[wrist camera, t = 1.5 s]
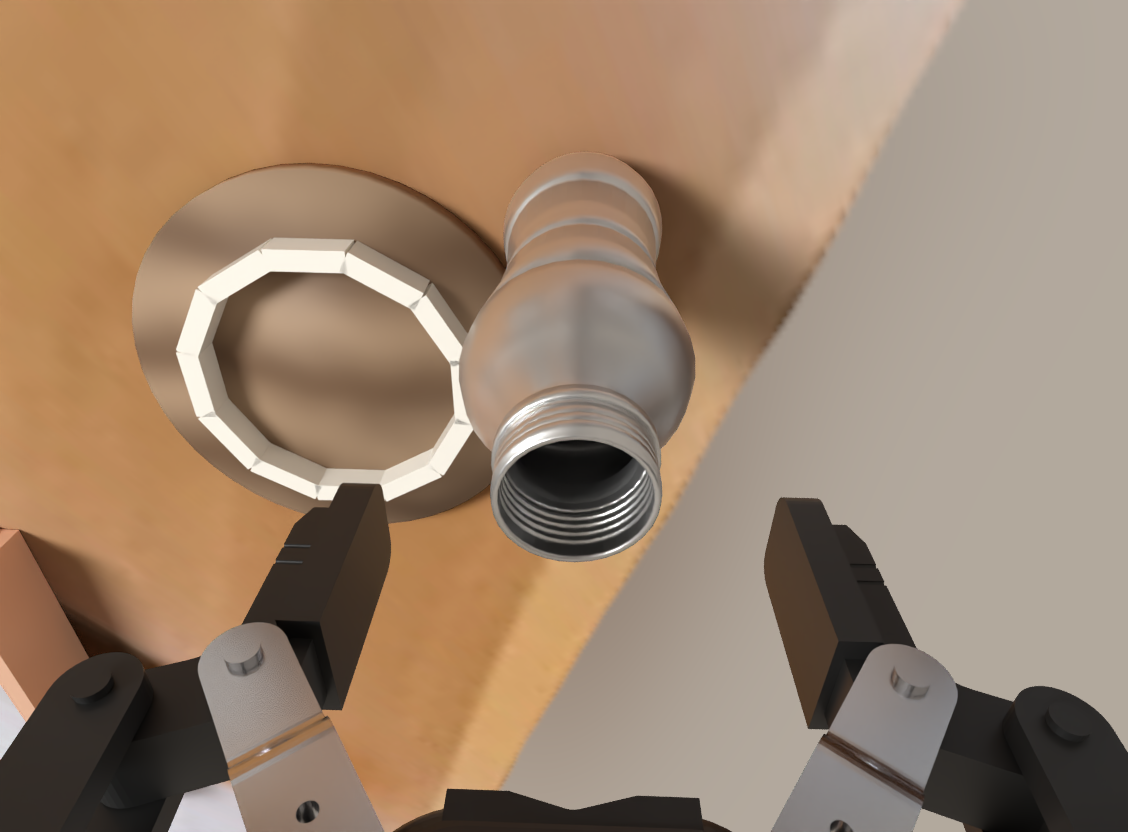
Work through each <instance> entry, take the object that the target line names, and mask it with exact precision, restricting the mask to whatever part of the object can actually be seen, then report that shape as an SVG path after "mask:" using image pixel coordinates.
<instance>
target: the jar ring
mask: <svg viewBox="0 0 1128 832" xmlns="http://www.w3.org/2000/svg"><path fill="white" fill-rule="evenodd" d="M270 271H276V272H313V273H344V274H345V275H347V276H349V277H351V278H353V279H355V280H357V281H359V282H361V283H362V284H364V285H366V286H368V287H370V288H372V289H374V290H376V291H378V292H379V293H381V294H383V295H385V296H387V297H389V298H391V299H393V300H395V301H396V302H398V303H400V304H402V305H404V306H406V307H408V308H410V309H411V310H412V312H413V313H414V315H415V316H416V317H417V319H418V320H419V321H420V323H421V324H422V326H423V327H424V328H425V330H426V331H427V333H428V334H429V335H430V337H431V338H432V339H433V341H434V342H435V344H436V345H437V346H438V348H439V349H440V350H441V352H442V353H443V355H444V356H445V357H446V359H447V360H448V362H449V363H450V365H451V377H452V389H453V401H454V415H453V417H452V418H451V420H450V422H449V423H448V425H447V426H446V428H445V430H444V431H443V433H442V434H441V436H440V438H439V439H438V441H437V443H436V444H435V446H434V447H433V448H432V449H430V450H428V451H426V452H423V453H421V454H419V455H417V456H415V457H413V458H410V459H408V460H406V461H404V462H402V463H400V464H397V465H395V466H393V467H391V468H389V469H387V470H363V469H331V468H325V467H323V466H321V465H318V464H316V463H314V462H312V461H310V460H307V459H305V458H303V457H301V456H298V455H296V454H294V453H292V452H289V451H287V450H285V449H283V448H281V447H278V446H276V445H274V444H272V443H270V442H269V441H268V440H267V439H266V438H265V437H264V435H263V434H262V433H261V432H260V431H259V430H258V429H257V428H256V427H255V426H254V425H253V424H252V423H251V422H250V421H249V420H248V419H247V417H246V416H245V415H244V414H243V413H242V412H241V411H240V410H239V409H238V408H237V407H236V406H235V405H234V404H233V403H232V402H231V400H230V399H229V398H228V395H227V392H226V389H225V385H224V382H223V378H222V375H221V371H220V368H219V364H218V361H217V357H216V354H215V350H214V347H213V344H212V342H213V339H214V336H215V333H216V331H217V328H218V325H219V322H220V319H221V317H222V314H223V311H224V308H225V305H226V303H227V300H228V297H229V296H230V295H232V294H233V293H235V292H237V291H238V290H240V289H242V288H243V287H245V286H247V285H248V284H250V283H252V282H253V281H255V280H257V279H258V278H260V277H262V276H263V275H265V274H267V273H268V272H270ZM429 281H430V280H428V279H426V278H425V277H423V276H421V275H419V274H417V273H416V272H414V271H412V270H410V269H408V268H406V267H405V266H403V265H401V264H399V263H397V262H395V261H394V260H392V259H390V258H388V257H386V256H384V255H383V254H381V253H379V252H377V251H375V250H373V249H372V248H370V247H368V246H366V245H364V244H362V243H361V242H359V241H356V243H355V244H354V240H345V239H307V238H273V239H269V240H268V241H266V242H264V243H263V244H261V245H260V246H258V247H256V248H255V249H253V250H251V251H250V252H248V253H247V254H245V255H243V256H242V257H240V258H238V259H237V260H235V261H234V262H232V263H230V264H229V265H227V266H226V267H224V268H222V269H221V270H219V271H217V272H216V273H214V274H213V275H211V276H210V277H209V278H208V279H207V280H205V281H204V282H203V283H202V284H201V285H199V286H198V288H197V289H196V290H195V293H194V296H193V299H192V302H191V305H190V308H189V311H188V314H187V317H186V321H185V324H184V327H183V330H182V333H181V336H180V339H179V342H178V345H177V348H176V350H177V352H176V355H177V358H178V361H179V364H180V367H181V370H182V373H183V376H184V379H185V383H186V386H187V389H188V392H189V395H190V398H191V401H192V404H193V407H194V410H195V414H196V417H199V418H198V419H199V420H200V421H201V422H202V423H203V424H204V425H205V426H206V428H207V429H208V430H209V431H210V432H211V433H212V434H213V435H214V436H215V437H216V438H217V439H218V440H219V441H220V442H221V443H222V444H223V445H224V446H225V447H226V448H227V449H228V450H229V451H230V452H231V453H232V454H233V455H234V456H235V457H236V458H237V459H238V460H239V461H240V462H241V463H242V464H243V465H244V466H245V467H246V468H247V469H250V468H251V472H254V473H256V474H258V475H261V476H263V477H265V478H267V479H270V480H272V481H274V482H277V483H279V484H281V485H284V486H286V487H288V488H290V489H293V490H295V491H297V492H300V493H302V494H304V495H307V496H309V497H311V498H313V499H316V497H317V498H318V500H333V498H334V496H335V494H336V492H337V490H338V488H339V486H340V485H341V484H342V483H370V484H380V485H381V487H382V490H383V495H384V501H385V500H386V501H389V500H391V499H394V498H396V497H398V496H400V495H403V494H405V493H407V492H409V491H411V490H414V489H416V488H418V487H420V486H423V485H425V484H427V483H429V482H432V481H434V480H436V479H438V478H441V477H442V475H444V474H445V473H446V471H447V469H448V468H449V466H450V465H451V463H452V462H453V460H454V459H455V457H456V456H457V454H458V452H459V451H460V449H461V448H462V446H463V445H464V443H465V442H466V440H467V438H468V437H469V435H470V434H471V432H472V431H473V428H472V425H471V423H470V421H469V419H468V417H467V415H466V410H465V406H464V402H463V398H462V393H461V389H460V384H459V359H460V355H461V351H462V347H463V343H464V340H465V338H466V336H467V334H468V333H467V332H466V331H465V329H464V328H463V326H462V325H461V323H460V322H459V320H458V319H457V317H456V316H455V315H454V313H453V312H452V310H451V309H450V307H449V306H448V304H447V303H446V302H445V300H444V299H443V297H442V296H441V294H440V293H439V291H438V290H437V289H436V287H435V286H434V284H433V283H431V284H429V285H428V283H429Z"/></svg>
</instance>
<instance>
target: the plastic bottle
mask: <svg viewBox="0 0 1128 832" xmlns="http://www.w3.org/2000/svg"><path fill="white" fill-rule="evenodd" d="M661 237H662V216H661V212H660V208H659V204H658V201H657V199H656V197H655V195H654V193H653V191H652V189H651V188H650V186H649V185H648V184H647V182H646V181H645V180H644V179H643V177H642V176H641V175H639V174H638V173H637V172H636V171H635V170H633V169H632V168H631V167H630V166H628V165H627V164H626V163H624V162H622V161H620V160H619V159H617V158H615V157H613V156H609V155H606V154H602V153H599V152H586V151H582V152H574V153H568V154H565V155H562V156H559V157H556V158H554V159H552V160H550V161H549V162H547V163H545V164H543V165H542V166H540V167H539V168H538V169H536V170H535V171H534V172H533V173H532V174H531V175H529V176H528V177H527V178H526V179H525V180H524V181H523V183H522V184H521V185H520V186H519V188H518V189H517V190H516V191H515V193H514V195H513V197H512V199H511V201H510V203H509V205H508V209H507V212H506V216H505V220H504V249H505V255H506V261H507V268H506V271H505V273H504V275H503V277H502V279H501V282H500V283H499V285H498V286H497V287H496V289H495V290H494V292H493V293H492V294H491V296H490V297H489V298H488V300H487V301H486V303H485V304H484V305H483V307H482V308H481V309H480V311H479V313H478V315H477V317H476V318H475V320H474V322H473V324H472V326H471V328H470V330H469V332H468V334H467V336H466V338H465V340H464V343H463V347H462V351H461V355H460V359H459V384H460V389H461V393H462V398H463V402H464V406H465V410H466V415H467V417H468V419H469V421H470V423H471V425H472V428H473V430H474V432H475V433H476V434H477V436H478V437H479V438H480V440H481V441H482V442H483V444H484V445H485V446H486V447H487V448H488V449H489V450H490V451H491V452H492V456H491V467H492V472H493V475H492V481H491V491H490V498H491V505H492V510H493V515H494V517H495V519H496V521H497V523H498V525H499V527H500V528H501V529H502V531H503V532H504V533H505V534H506V536H507V537H508V538H509V539H511V540H512V541H513V542H514V543H515V544H517V545H518V546H520V547H521V548H523V549H525V550H527V551H528V552H530V553H533V554H535V555H538V556H541V557H543V558H547V559H552V560H557V561H565V562H584V561H593V560H598V559H603V558H607V557H609V556H612V555H615V554H618V553H620V552H622V551H624V550H626V549H627V548H629V547H631V546H633V545H634V544H635V543H636V542H638V541H639V540H640V539H641V538H643V537H644V536H645V535H646V533H647V532H648V531H649V530H650V529H651V527H652V526H653V524H654V522H655V520H656V518H657V516H658V514H659V510H660V506H661V499H662V481H661V476H660V467H661V448H662V447H663V446H664V445H666V443H667V442H668V441H669V439H670V438H671V437H672V435H673V434H674V433H675V432H676V430H677V429H678V427H679V425H680V422H681V420H682V418H683V416H684V414H685V412H686V409H687V406H688V403H689V400H690V397H691V393H692V389H693V385H694V380H695V355H694V351H693V346H692V342H691V338H690V336H689V333H688V331H687V329H686V326H685V323H684V322H683V320H682V318H681V316H680V314H679V312H678V310H677V308H676V306H675V305H674V304H673V302H672V300H671V299H670V297H669V295H668V294H667V292H666V291H665V289H664V288H663V286H662V284H661V283H660V280H659V277H658V274H657V271H656V261H657V259H658V255H659V249H660V244H661Z"/></svg>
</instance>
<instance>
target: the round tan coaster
mask: <svg viewBox="0 0 1128 832" xmlns="http://www.w3.org/2000/svg"><path fill="white" fill-rule="evenodd" d="M273 238H307V239H345V240H354V244H355V243H356V241H359V242H361V243H362V244H364V245H366V246H368V247H370V248H372V249H373V250H375V251H377V252H379V253H381V254H383V255H384V256H386V257H388V258H390V259H392V260H394V261H395V262H397V263H399V264H401V265H403V266H405V267H406V268H408V269H410V270H412V271H414V272H416V273H417V274H419V275H421V276H423V277H425V278H426V279H428V280H430V281H429V283H428V285H429V284H431V283H433V284H434V286H435V287H436V289H437V290H438V291H439V293H440V294H441V296H442V297H443V299H444V300H445V302H446V303H447V304H448V306H449V307H450V309H451V310H452V312H453V313H454V315H455V316H456V317H457V319H458V320H459V322H460V323H461V325H462V326H463V328H464V329H465V331H466V332H467V333H468V332H469V330H470V328H471V326H472V324H473V322H474V320H475V318H476V317H477V315H478V313H479V311H480V309H481V308H482V307H483V305H484V304H485V303H486V301H487V300H488V298H489V297H490V296H491V294H492V293H493V292H494V290H495V289H496V287H497V286H498V285H499V283H500V282H501V279H502V277H503V275H504V273H505V271H506V269H505V268H504V267H503V265H502V264H501V262H500V261H499V260H498V258H497V257H496V255H495V254H494V253H493V252H492V251H491V250H490V248H489V247H488V246H487V245H486V244H485V243H484V242H483V241H482V240H481V239H480V238H479V237H478V235H477V234H476V233H475V232H474V231H472V230H471V229H470V228H469V227H468V226H466V225H465V224H464V223H463V222H462V221H461V220H459V219H458V218H457V217H456V216H455V215H454V214H452V213H451V212H449V211H448V210H446V209H445V208H443V207H442V206H440V205H439V204H437V203H436V202H434V201H433V200H431V199H430V198H428V197H427V196H425V195H423V194H421V193H419V192H417V191H415V190H413V189H411V188H409V187H407V186H405V185H403V184H401V183H399V182H396V181H393V180H390V179H387V178H385V177H382V176H379V175H376V174H374V173H371V172H367V171H362V170H358V169H353V168H349V167H344V166H339V165H328V164H317V163H298V164H280V165H275V166H269V167H264V168H259V169H254V170H251V171H248V172H245V173H243V174H240V175H237V176H234V177H231V178H228V179H227V180H225V181H223V182H221V183H219V184H218V185H216V186H214V187H212V188H210V189H208V190H207V191H205V192H203V193H202V194H200V195H198V196H197V197H195V198H193V199H192V200H191V201H190V202H188V203H187V204H186V205H185V206H183V207H182V208H181V209H180V210H178V211H177V212H176V213H175V214H173V215H172V217H171V218H170V219H169V220H168V221H167V222H166V223H165V225H164V226H163V227H162V228H161V229H160V230H159V231H158V233H157V234H156V236H155V237H154V239H153V241H152V243H151V244H150V246H149V248H148V249H147V251H146V253H145V255H144V257H143V260H142V263H141V266H140V268H139V271H138V274H137V277H136V282H135V288H134V293H133V299H132V325H133V333H134V340H135V346H136V350H137V353H138V357H139V360H140V364H141V367H142V370H143V373H144V375H145V377H146V379H147V382H148V384H149V386H150V389H151V391H152V393H153V394H154V396H155V398H156V400H157V401H158V403H159V405H160V406H161V408H162V410H163V412H164V413H165V414H166V416H167V417H168V418H169V420H170V421H171V422H172V424H173V425H174V426H175V428H176V429H177V430H178V432H179V433H180V434H181V435H182V436H183V437H184V438H185V439H186V440H187V442H188V443H189V444H190V445H191V446H192V447H193V448H194V449H195V450H196V451H197V452H198V453H199V454H200V455H202V456H203V457H204V458H205V459H206V460H207V461H208V462H209V463H210V464H212V465H213V466H214V467H215V468H217V469H218V470H219V471H221V472H222V473H224V474H225V475H226V476H228V477H229V478H230V479H232V480H233V481H235V482H236V483H238V484H240V485H241V486H243V487H245V488H246V489H248V490H250V491H251V492H253V493H255V494H257V495H259V496H261V497H263V498H265V499H267V500H270V501H272V502H274V503H276V504H278V505H281V506H284V507H286V508H289V509H292V510H294V511H297V512H300V513H304V514H307V513H308V512H309V511H310V510H311V509H312V508H314V507H329V506H330V504H331V502H332V500H318V498H317V497H316V499H313V498H311V497H309V496H307V495H304V494H302V493H300V492H297V491H295V490H293V489H290V488H288V487H286V486H284V485H281V484H279V483H277V482H274V481H272V480H270V479H267V478H265V477H263V476H261V475H258V474H256V473H254V472H251V468H250V469H247V468H246V467H245V466H244V465H243V464H242V463H241V462H240V461H239V460H238V459H237V458H236V457H235V456H234V455H233V454H232V453H231V452H230V451H229V450H228V449H227V448H226V447H225V446H224V445H223V444H222V443H221V442H220V441H219V440H218V439H217V438H216V437H215V436H214V435H213V434H212V433H211V432H210V431H209V430H208V429H207V428H206V426H205V425H204V424H203V423H202V422H201V421H200V420H199V419H198V418H199V417H196V414H195V410H194V407H193V404H192V401H191V398H190V395H189V392H188V389H187V386H186V383H185V379H184V376H183V373H182V370H181V367H180V364H179V361H178V358H177V355H176V352H177V350H176V348H177V345H178V342H179V339H180V336H181V333H182V330H183V327H184V324H185V321H186V317H187V314H188V311H189V308H190V305H191V302H192V299H193V296H194V293H195V290H196V289H197V288H198V286H199V285H201V284H202V283H203V282H204V281H205V280H207V279H208V278H209V277H210V276H211V275H213V274H214V273H216V272H217V271H219V270H221V269H222V268H224V267H226V266H227V265H229V264H230V263H232V262H234V261H235V260H237V259H238V258H240V257H242V256H243V255H245V254H247V253H248V252H250V251H251V250H253V249H255V248H256V247H258V246H260V245H261V244H263V243H264V242H266V241H268V240H269V239H273ZM212 344H213V347H214V350H215V354H216V357H217V361H218V364H219V368H220V371H221V375H222V378H223V382H224V385H225V389H226V392H227V395H228V398H229V399H230V400H231V402H232V403H233V404H234V405H235V406H236V407H237V408H238V409H239V410H240V411H241V412H242V413H243V414H244V415H245V416H246V417H247V419H248V420H249V421H250V422H251V423H252V424H253V425H254V426H255V427H256V428H257V429H258V430H259V431H260V432H261V433H262V434H263V435H264V437H265V438H266V439H267V440H268V441H269V442H270V443H272V444H274V445H276V446H278V447H281V448H283V449H285V450H287V451H289V452H292V453H294V454H296V455H298V456H301V457H303V458H305V459H307V460H310V461H312V462H314V463H316V464H318V465H321V466H323V467H325V468H331V469H363V470H387V469H389V468H391V467H393V466H395V465H397V464H400V463H402V462H404V461H406V460H408V459H410V458H413V457H415V456H417V455H419V454H421V453H423V452H426V451H428V450H430V449H432V448H433V447H434V446H435V444H436V443H437V441H438V439H439V438H440V436H441V434H442V433H443V431H444V430H445V428H446V426H447V425H448V423H449V422H450V420H451V418H452V417H453V415H454V401H453V389H452V377H451V365H450V363H449V362H448V360H447V359H446V357H445V356H444V355H443V353H442V352H441V350H440V349H439V348H438V346H437V345H436V344H435V342H434V341H433V339H432V338H431V337H430V335H429V334H428V333H427V331H426V330H425V328H424V327H423V326H422V324H421V323H420V321H419V320H418V319H417V317H416V316H415V315H414V313H413V312H412V310H411V309H410V308H408V307H406V306H404V305H402V304H400V303H398V302H396V301H395V300H393V299H391V298H389V297H387V296H385V295H383V294H381V293H379V292H378V291H376V290H374V289H372V288H370V287H368V286H366V285H364V284H362V283H361V282H359V281H357V280H355V279H353V278H351V277H349V276H347V275H345V274H344V273H313V272H276V271H270V272H268V273H267V274H265V275H263V276H262V277H260V278H258V279H257V280H255V281H253V282H252V283H250V284H248V285H247V286H245V287H243V288H242V289H240V290H238V291H237V292H235V293H233V294H232V295H230V296H229V297H228V300H227V303H226V305H225V308H224V311H223V314H222V317H221V319H220V322H219V325H218V328H217V331H216V333H215V336H214V339H213V342H212ZM491 456H492V452H491V451H490V450H489V449H488V448H487V447H486V446H485V445H484V444H483V442H482V441H481V440H480V438H479V437H478V436H477V434H476V433H475V432H474V430H473V431H472V432H471V434H470V435H469V437H468V438H467V440H466V442H465V443H464V445H463V446H462V448H461V449H460V451H459V452H458V454H457V456H456V457H455V459H454V460H453V462H452V463H451V465H450V466H449V468H448V469H447V471H446V473H445V474H444V475H442V477H441V478H438V479H436V480H434V481H432V482H429V483H427V484H425V485H423V486H420V487H418V488H416V489H414V490H411V491H409V492H407V493H405V494H403V495H400V496H398V497H396V498H394V499H391V500H389V501H386V500H385V508H386V514H387V521H388V524H389V523H397V522H405V521H412V520H416V519H420V518H425V517H429V516H432V515H435V514H438V513H441V512H443V511H446V510H449V509H451V508H453V507H455V506H457V505H459V504H461V503H463V502H465V501H467V500H469V499H470V498H472V497H473V496H475V495H476V494H478V493H479V492H481V491H482V490H484V489H485V488H486V487H487V486H488V485H490V484H491V481H492V475H493V472H492V467H491Z"/></svg>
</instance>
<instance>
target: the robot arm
mask: <svg viewBox="0 0 1128 832" xmlns="http://www.w3.org/2000/svg"><path fill="white" fill-rule="evenodd" d="M390 556H391V540H390V533H389V527H388V521H387V514H386V508H385V501H384V495H383V490H382V487H381V485H380V484H370V483H342V484H341V485H340V486H339V488H338V490H337V492H336V494H335V496H334V498H333V500H332V502H331V504H330V506H329V507H314V508H312V509H311V510H310V511H309V512H308V513H307V514H306V515H304V516H303V517H302V518H301V519H300V520H299V521H298V522H296V523H295V524H294V526H293V528H292V530H291V532H290V534H289V536H288V538H287V539H286V541H285V543H284V548H282V549H281V551H280V553H279V555H278V557H277V558H276V563H275V564H273V566H272V568H271V570H270V572H269V574H268V576H267V577H266V579H265V581H264V583H263V585H262V587H261V589H260V591H259V593H258V595H257V596H256V598H255V600H254V602H253V604H252V606H251V608H250V610H249V612H248V614H247V615H246V617H245V619H244V621H243V623H242V625H240V626H237V627H234V628H232V629H230V630H228V631H226V632H224V633H223V634H221V635H220V636H218V637H217V638H216V639H215V640H213V641H212V642H211V643H210V644H209V645H208V646H207V648H206V649H205V651H204V652H203V654H202V656H199V657H197V658H194V659H190V660H186V661H182V662H178V663H173V664H169V665H165V666H160V667H156V668H152V669H147V670H144V667H143V665H142V664H141V662H140V661H139V659H137V658H136V657H135V656H133V655H131V654H127V653H122V652H112V653H105V654H100V655H97V656H94V657H91V658H89V659H86V660H84V661H82V662H80V663H78V664H76V665H75V666H73V667H72V668H70V669H69V670H67V671H66V672H65V673H63V674H62V675H61V676H60V677H59V678H58V679H57V680H56V681H55V682H54V683H53V684H52V685H51V687H50V688H49V689H48V691H47V692H46V694H45V695H44V697H43V698H42V700H41V701H40V703H39V704H38V706H37V707H36V708H35V710H34V711H33V713H32V714H31V716H30V717H29V719H28V720H27V722H26V723H25V725H24V726H23V728H22V729H21V731H20V732H19V734H18V735H17V737H16V738H15V740H14V741H13V742H12V744H11V745H10V747H9V748H8V750H7V751H6V753H5V754H4V756H3V757H2V759H1V760H0V832H168V830H169V828H170V826H171V823H172V821H173V819H174V816H175V814H176V812H177V809H178V807H179V804H180V802H181V800H182V797H183V795H184V793H185V792H189V791H192V790H196V789H200V788H203V787H207V786H210V785H214V784H218V783H221V782H225V781H228V780H230V781H231V784H232V787H233V791H234V794H235V797H236V800H237V803H238V806H239V809H240V812H241V815H242V819H243V822H244V825H245V828H246V831H247V832H384V830H383V827H382V825H381V823H380V821H379V819H378V817H377V815H376V813H375V811H374V809H373V807H372V804H371V802H370V800H369V798H368V796H367V794H366V792H365V790H364V788H363V786H362V784H361V782H360V779H359V777H358V775H357V773H356V771H355V769H354V767H353V765H352V763H351V761H350V759H349V757H348V754H347V752H346V750H345V748H344V746H343V744H342V742H341V740H340V738H339V736H338V734H337V731H336V729H335V727H334V725H333V724H332V722H331V720H330V718H329V717H328V716H326V717H325V716H324V714H323V712H322V710H342V708H343V705H344V702H345V699H346V696H347V693H348V690H349V687H350V684H351V681H352V678H353V675H354V672H355V669H356V666H357V663H358V660H359V657H360V654H361V651H362V648H363V645H364V642H365V639H366V636H367V633H368V629H369V626H370V623H371V620H372V617H373V614H374V611H375V608H376V605H377V602H378V599H379V596H380V593H381V590H382V587H383V584H384V581H385V578H386V575H387V572H388V568H389V563H390ZM764 574H765V581H766V586H767V589H768V593H769V596H770V599H771V603H772V606H773V609H774V613H775V616H776V620H777V623H778V627H779V630H780V634H781V637H782V641H783V644H784V647H785V651H786V654H787V658H788V661H789V665H790V668H791V672H792V675H793V678H794V682H795V685H796V688H797V692H798V696H799V699H800V702H801V706H802V709H803V713H804V716H805V719H806V723H807V726H808V729H829V731H828V732H827V734H824V735H823V736H822V738H821V739H820V741H819V742H818V744H817V746H816V748H815V750H814V752H813V753H812V755H811V757H810V759H809V761H808V763H807V765H806V767H805V768H804V770H803V772H802V774H801V776H800V778H799V780H798V782H797V783H796V786H795V787H794V789H793V791H792V793H791V795H790V797H789V798H788V800H787V802H786V804H785V806H784V808H783V810H782V812H781V813H780V815H779V817H778V819H777V821H776V823H775V825H774V827H773V828H772V830H771V832H913V829H914V827H915V824H916V821H917V818H918V816H919V813H920V810H921V808H922V809H925V810H928V811H931V812H934V813H936V814H939V815H942V816H945V817H948V818H951V819H954V820H956V821H959V822H962V823H963V825H964V828H965V830H966V832H1128V752H1127V751H1126V749H1125V748H1124V746H1123V744H1122V743H1121V741H1120V740H1119V738H1118V736H1117V735H1116V733H1115V732H1114V730H1113V729H1112V727H1111V726H1110V724H1109V723H1108V722H1107V721H1106V719H1105V718H1104V717H1103V716H1102V715H1101V714H1100V713H1099V712H1098V711H1096V710H1095V709H1094V708H1093V707H1091V706H1090V705H1089V704H1087V703H1086V702H1084V701H1082V700H1081V699H1079V698H1078V697H1076V696H1074V695H1072V694H1070V693H1067V692H1065V691H1062V690H1059V689H1055V688H1052V687H1045V686H1034V687H1029V688H1026V689H1024V690H1023V691H1021V692H1020V693H1019V694H1018V696H1017V697H1016V699H1015V700H1014V702H1012V701H1009V700H1005V699H1002V698H998V697H995V696H992V695H989V694H985V693H982V692H978V691H975V690H972V689H969V688H966V687H963V686H961V685H959V684H957V683H955V682H954V680H953V678H952V676H951V675H950V673H949V672H948V671H947V670H946V668H945V667H944V666H943V665H942V664H940V663H939V662H938V661H937V660H936V659H934V658H933V657H931V656H930V655H928V654H926V653H925V652H923V651H921V650H918V649H917V648H916V646H915V644H914V642H913V640H912V638H911V636H910V634H909V632H908V629H907V627H906V625H905V623H904V621H903V619H902V617H901V615H900V613H899V611H898V609H897V607H896V605H895V603H894V601H893V599H892V597H891V595H890V592H889V590H888V588H887V586H884V580H883V578H882V576H881V574H880V572H879V570H878V568H877V569H876V564H875V562H874V560H873V557H872V555H871V553H870V551H869V549H868V547H867V545H866V543H865V542H864V541H862V540H861V539H860V538H859V537H858V536H857V535H856V534H855V533H854V532H853V531H852V530H851V529H850V528H849V527H848V526H847V525H832V524H831V522H830V519H829V517H828V515H827V512H826V510H825V508H824V505H823V503H822V502H821V500H819V499H814V498H780V499H779V501H778V502H777V506H776V510H775V514H774V518H773V522H772V527H771V531H770V535H769V539H768V544H767V548H766V552H765V558H764ZM393 832H731V831H730V830H728V829H726V828H724V827H722V826H719V825H717V824H715V823H713V822H710V821H707V820H704V819H702V815H701V808H700V800H699V798H682V797H656V796H635V797H630V798H626V799H621V800H617V801H613V802H609V803H604V804H600V805H596V806H591V807H587V808H583V809H578V810H569V809H565V808H562V807H558V806H555V805H552V804H548V803H546V802H542V801H539V800H536V799H533V798H529V797H526V796H523V795H520V794H517V793H513V792H510V791H494V790H467V789H447V792H446V798H445V804H444V809H441V810H438V811H434V812H431V813H428V814H425V815H423V816H420V817H418V818H416V819H414V820H412V821H410V822H408V823H406V824H404V825H402V826H401V827H399V828H398V829H396V830H395V831H393Z"/></svg>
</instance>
